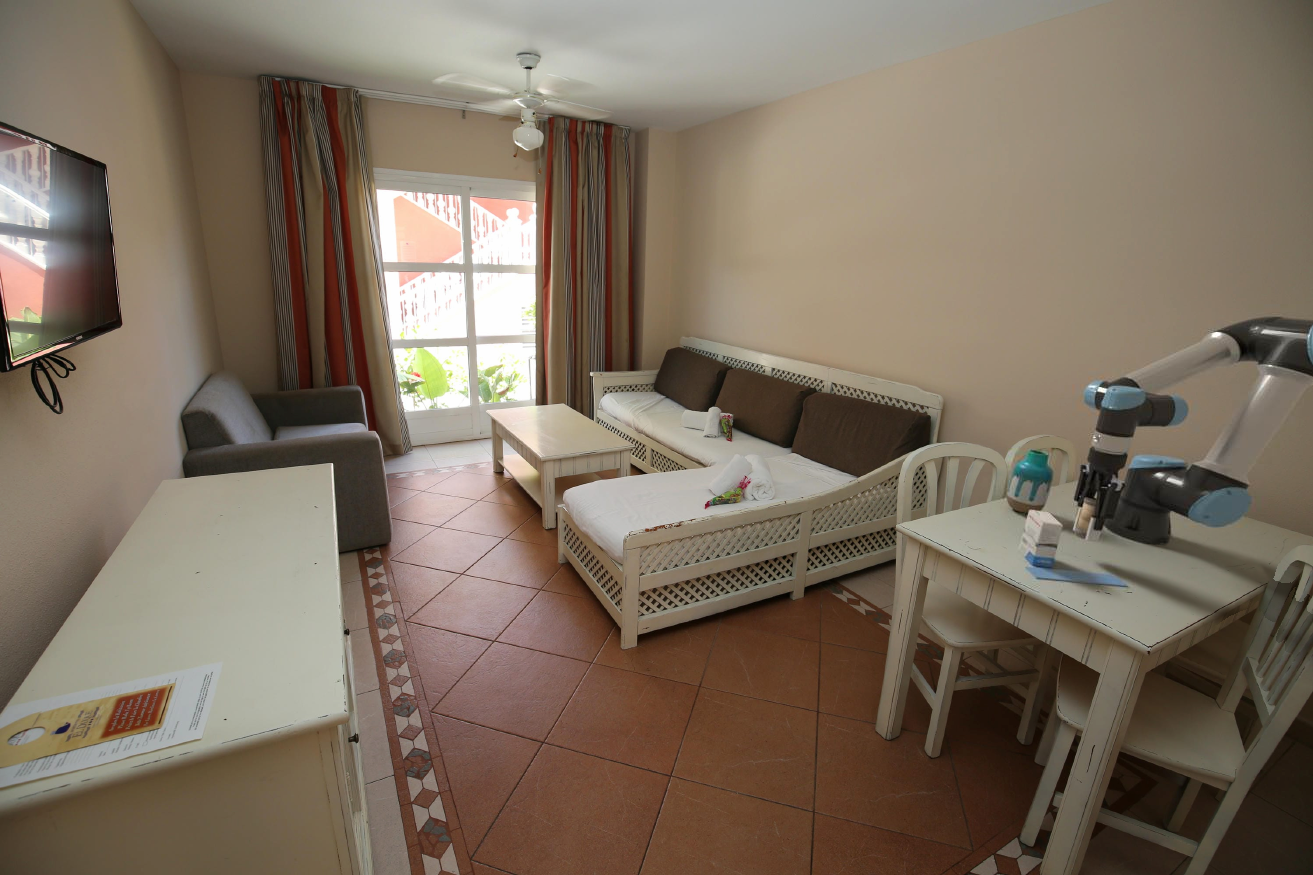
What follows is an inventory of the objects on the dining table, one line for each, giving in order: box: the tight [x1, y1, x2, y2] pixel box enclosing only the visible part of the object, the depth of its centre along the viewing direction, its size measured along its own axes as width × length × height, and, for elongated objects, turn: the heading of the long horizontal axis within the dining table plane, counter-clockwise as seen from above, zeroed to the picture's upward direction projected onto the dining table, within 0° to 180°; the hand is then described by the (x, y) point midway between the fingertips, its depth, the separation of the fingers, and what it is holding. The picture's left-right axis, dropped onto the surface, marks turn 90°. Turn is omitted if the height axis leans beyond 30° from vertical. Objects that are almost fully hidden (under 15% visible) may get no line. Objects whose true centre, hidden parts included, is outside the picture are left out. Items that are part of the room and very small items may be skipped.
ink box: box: [1018, 510, 1064, 568], centre depth 147 cm, size 9×5×12 cm, turn 169°
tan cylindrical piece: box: [1074, 497, 1101, 540], centre depth 148 cm, size 5×5×10 cm
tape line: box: [1025, 566, 1129, 588], centre depth 141 cm, size 21×5×1 cm, turn 85°
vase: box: [1006, 449, 1054, 514], centre depth 176 cm, size 11×11×19 cm
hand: (1085, 535), depth 149 cm, fingers closed on tan cylindrical piece, 5 cm apart
